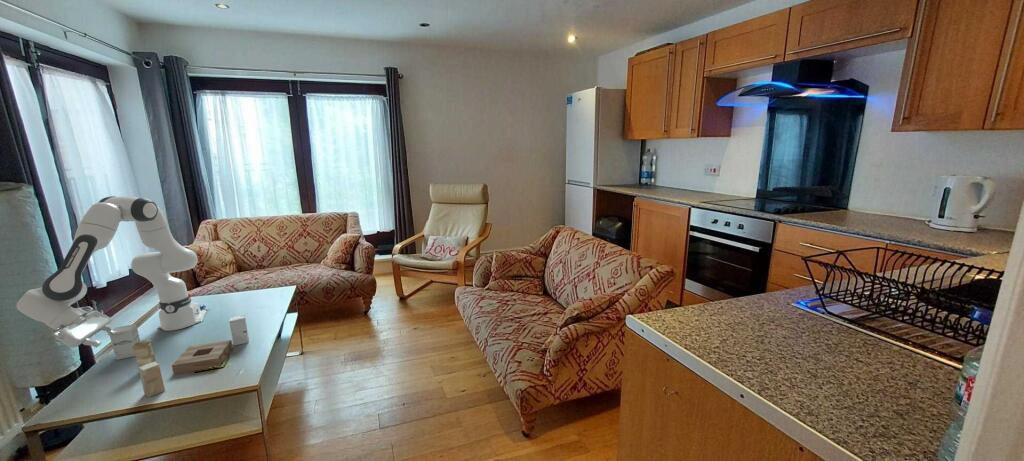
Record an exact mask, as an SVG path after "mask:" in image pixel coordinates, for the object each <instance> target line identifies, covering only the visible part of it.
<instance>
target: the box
mask: <svg viewBox="0 0 1024 461" xmlns="http://www.w3.org/2000/svg"><path fill="white" fill-rule="evenodd" d="M137 367H138V366H137ZM137 370H138V372H139V376H140V381H141V386H142V389H143V393H144V395H145V396H146V397H148V398H151V397H153V396H155V395H158V394H160V393H162V392H165V391H166V388H165V384H164V380H163V375H162V370H161V366H160V364H159V363H158V362H157V361H156V362H152V363H149V364H146V365H144V366H141V367H138V368H137Z"/></svg>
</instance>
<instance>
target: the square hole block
mask: <svg viewBox="0 0 1024 461" xmlns="http://www.w3.org/2000/svg"><path fill="white" fill-rule="evenodd" d="M233 346H234V345H233V339H229V340H223V341H222V340H221V341H216V342H210V343H208V342H207V343H203V344H197V345H189V346H188V347H187V348H186V350H184V351H183V353H181V355H180V356H179V357H178V358H177V359H176V360H175V361H174V362H173V363H172V364H171V368H172V373H173V375H179V374H183V373H189V372H190V373H191V372H197V371H201V370H200V369H203V370H205V369H204V368H209V367H215V366H220V365H222V364H223V363H222V362H224V361H225V360H226V359H227V357H228V356H229V354H230V353H231V352H232V350H233V349H234V347H233ZM225 358H226V359H225ZM224 359H225V360H224ZM223 360H224V361H223ZM221 363H222V364H221ZM220 367H221V366H220ZM215 368H216V367H215ZM209 369H210V368H209ZM196 370H197V371H196Z"/></svg>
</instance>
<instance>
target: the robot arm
mask: <svg viewBox="0 0 1024 461" xmlns="http://www.w3.org/2000/svg"><path fill="white" fill-rule="evenodd" d="M121 222H135V227H136V230H137V232H138V234H139V235H138V236H139V237H140V241H141V243H142V244H143V246H145V247H147V248H150V249H154V250H155V251H154V252H153V251H152V252H146V253H145V252H144V253H142V254H138V255H136V256H134V257H133V259H132V260H131V264H130V266H131V270H132V271H133V273H134V274H137V275H139V276H141V277H143V278H145V279H147V280H148V281H149V282H150V283H151V284H152V285H153V286H154V287H155V289H156V292H157V295H158V299H159V302H158V303H159V307H160V311H159V312H158V316H159V317H158V318H159V324H158V325H157V328H158V329H161V330H163V331H165V332H166V331H167V332H169V331H177V330H181V329H185V328H187V327H190V326H193V325H196V324H199V323H201V322H203V320H204V318H205V317H206V314H207V310H205V309H201V307H200V304H199V303H197V302H195V301H192V299H191V298H192V296H193V294H192V293H191V292H190V293H188V291H187V290H188V289H187V285H186V283H185V282H184V280H183V279H181V278H178V277H174V276H172V275H171V274H172V273H178V272H184V271H185V272H186V271H188V270H192V269H194V268H195V267H196V266H197V265H198V262H199V260H198V256H197V253H196V252H194V250H192V249H189V248H187V247H184V246H183V245H181V244H180V243H178V241H177V240H176V239H175V238H174V236H173V234H172V232H171V230H170V226H169V224H168V222H167V219H166V217H165V215H164V213H163V211H162V209H161V208H160V206H158V205H157V203H155V201H153V200H152V199H150V198H148V197H147V198H146V197H138V196H115V195H112V196H111V195H110V196H106V197H103V198H101V199H100V200H99V201H98V202H95V203H94V204H92V205H91V206H90V208H88V210H87V211H86V212H85V214H84V215H83V217H82V219H80V223H79V224H78V226H77V229H76V231H75V234H74V238H73V242H72V244H71V247H70V248H69V250H68V252H67V254H66V255H65V257H64V259H63V260H62V263H61V264H60V266H59V267H58V269H57V270H56V271H55V272H54V273H52V274H51V275H50V276H49V277H47V278H46V279H45V280H44V282H43V284H42V287H38V288H34V289H29V290H27V291H25V292H24V293H23V294H22V295H21V296H20V297H19V298H18V300H17V301H16V304H15V305H16V306H15V307H16V309H17V310H18V311H19V312H21V313H22V314H23V315H25V316H26V317H28V318H30V319H32V320H35V321H36V322H42V323H44V324H45V325H46V326H47V327H49V328H51V329H53V330H51V336H53V337H54V338H56V340H57V341H59V342H60V343H62V344H64V345H65V346H68V347H69V348H73V349H74V348H77V347H79V346H80V345H81V344H82V345H84V346H92V347H94V348H98V347H100V346H101V344H102V342H101V341H99V340H93V339H91V338H92V337H93V336H94V335H96V334H97V333H99V332H101V331H103V332H106V333H107V335H108V336H109V337H110V336H113V335H115V334H116V333H117V332H116V331H114V330H113V329H114V328H112V327H111V325H110V324H111V323H112V322H113V321H112V318H111V317H110V316H108V315H106V314H105V313H103V312H100V311H97V310H94V307H91V306H82V307H76V308H75V307H73V306H72V305H73V304H75V303H77V302H78V301H80V300H82V299H83V298H84V297H85V296H86V294H87V292H88V286H87V284H86V283H85V282H84V281H82V276H83V272H84V271H85V269H86V266H87V265H88V263H89V261H90V259H91V258H92V256H93V255H94V253H96V252H97V251H99V250H102V249H105V248H106V247H107V246H109V245H110V243H111V241H112V240H113V238H114V236H115V234H116V232H117V230H118V229H119V228H118V227H119V224H120V223H121ZM170 273H171V274H170ZM201 310H202V311H201Z"/></svg>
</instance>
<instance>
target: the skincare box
mask: <svg viewBox="0 0 1024 461" xmlns="http://www.w3.org/2000/svg"><path fill="white" fill-rule="evenodd" d="M246 320H247V319H246V315H245V314H244V315H238V316H233V317H230V318H229V321H228V323H229V327H230V332H231V340H232V345H233V346H238V345H243V344H247V343H249V340H250V338H249V331H248V325H247V321H246Z"/></svg>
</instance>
